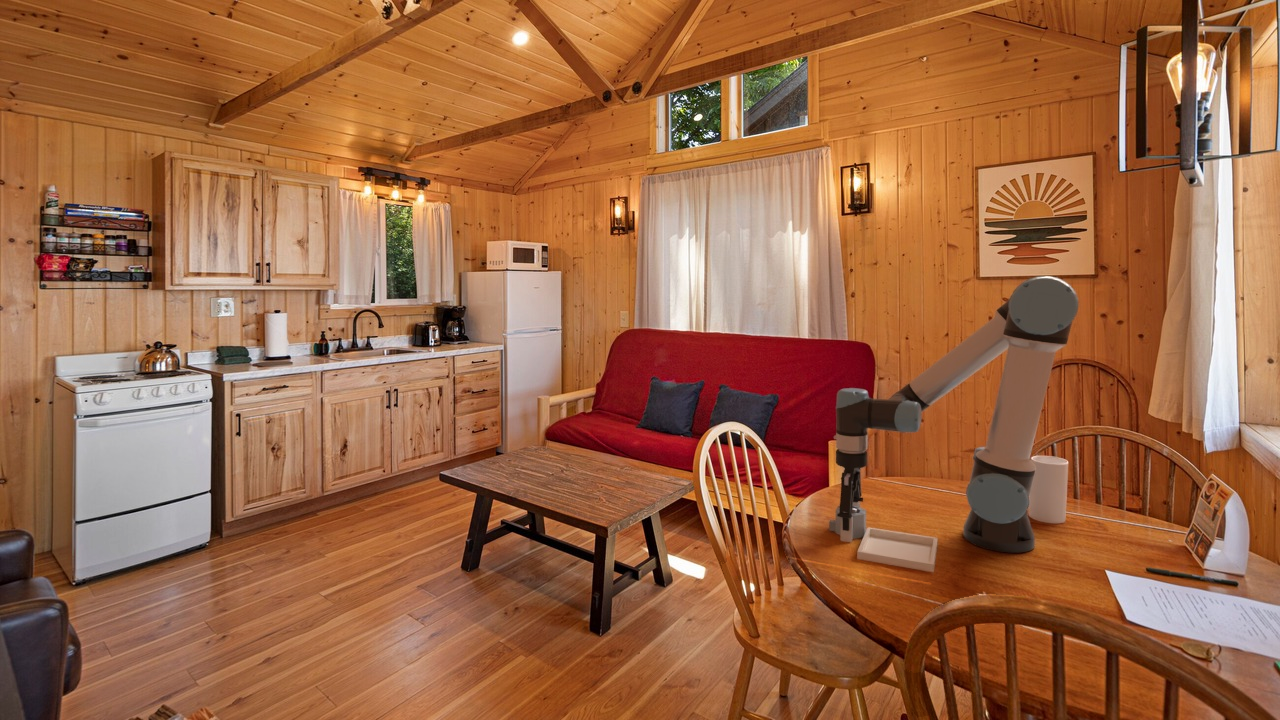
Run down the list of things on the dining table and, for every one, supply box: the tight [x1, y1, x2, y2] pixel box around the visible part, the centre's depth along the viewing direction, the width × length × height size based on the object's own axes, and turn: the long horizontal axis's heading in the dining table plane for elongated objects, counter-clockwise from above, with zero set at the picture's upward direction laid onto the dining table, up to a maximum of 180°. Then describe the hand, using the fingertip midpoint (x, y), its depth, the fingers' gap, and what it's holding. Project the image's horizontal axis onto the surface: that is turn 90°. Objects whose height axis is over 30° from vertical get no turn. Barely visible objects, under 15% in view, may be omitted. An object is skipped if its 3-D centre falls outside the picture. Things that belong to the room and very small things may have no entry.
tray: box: [856, 526, 938, 574], centre depth 143 cm, size 16×16×2 cm
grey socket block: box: [828, 505, 867, 540], centre depth 155 cm, size 9×7×6 cm
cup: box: [1028, 455, 1069, 524], centre depth 162 cm, size 8×8×16 cm
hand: (850, 533), depth 155 cm, fingers open, 11 cm apart
